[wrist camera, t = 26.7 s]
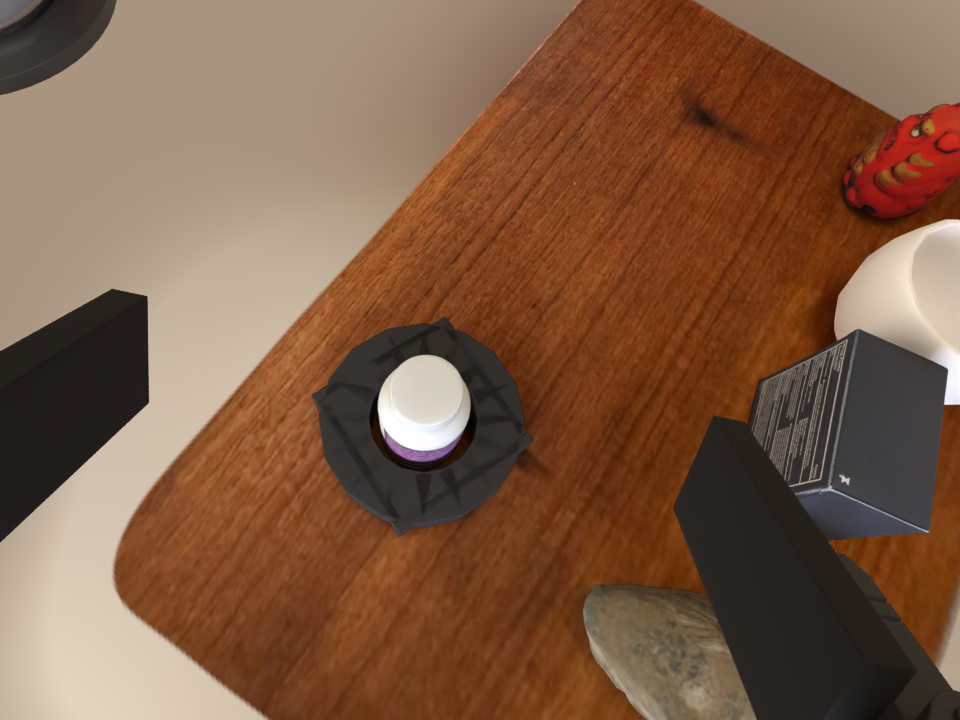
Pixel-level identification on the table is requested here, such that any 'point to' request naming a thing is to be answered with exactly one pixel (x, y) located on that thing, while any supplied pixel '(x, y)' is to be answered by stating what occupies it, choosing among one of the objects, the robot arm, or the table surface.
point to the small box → (856, 435)
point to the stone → (665, 652)
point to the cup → (911, 297)
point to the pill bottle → (423, 411)
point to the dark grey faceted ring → (408, 491)
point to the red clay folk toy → (906, 164)
